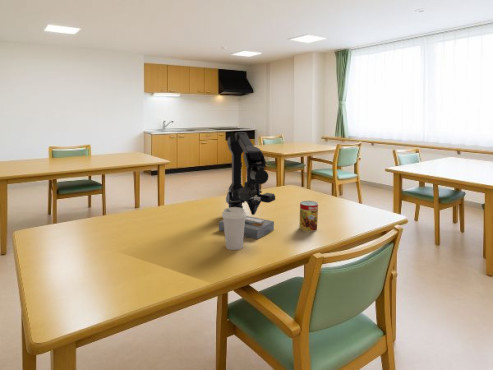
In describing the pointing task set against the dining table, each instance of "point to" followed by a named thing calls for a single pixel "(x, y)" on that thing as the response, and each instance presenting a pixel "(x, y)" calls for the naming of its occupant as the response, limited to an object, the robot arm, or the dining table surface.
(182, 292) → the dining table surface
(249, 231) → the silver metal tray
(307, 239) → the dining table surface
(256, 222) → the steel strap
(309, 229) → the canned food
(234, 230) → the coffee cup
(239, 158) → the robot arm
